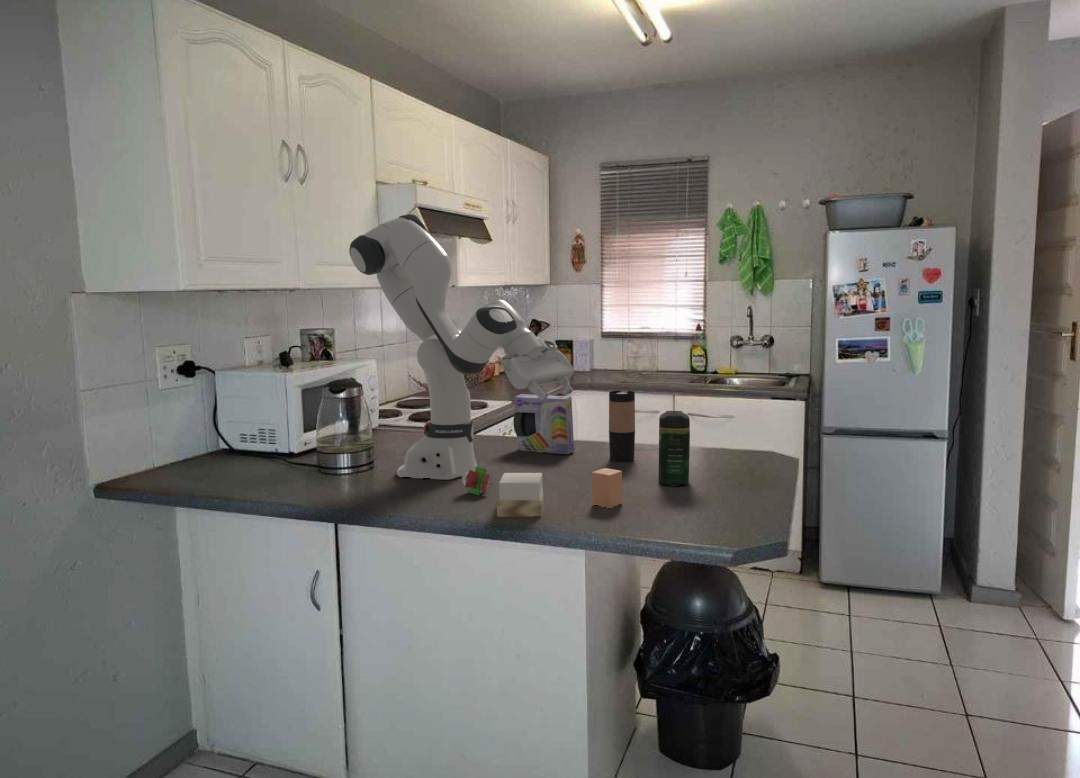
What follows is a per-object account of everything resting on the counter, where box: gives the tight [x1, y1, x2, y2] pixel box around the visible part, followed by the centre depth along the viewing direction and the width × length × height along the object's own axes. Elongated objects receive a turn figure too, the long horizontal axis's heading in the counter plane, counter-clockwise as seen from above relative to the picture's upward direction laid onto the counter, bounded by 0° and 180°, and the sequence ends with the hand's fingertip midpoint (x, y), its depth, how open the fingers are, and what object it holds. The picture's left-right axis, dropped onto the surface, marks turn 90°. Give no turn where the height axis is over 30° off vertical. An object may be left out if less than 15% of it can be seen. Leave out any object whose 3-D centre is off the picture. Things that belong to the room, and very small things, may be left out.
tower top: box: [498, 472, 543, 500], centre depth 175 cm, size 9×9×4 cm
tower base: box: [496, 488, 545, 518], centre depth 176 cm, size 10×10×4 cm
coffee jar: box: [658, 410, 691, 487], centre depth 197 cm, size 10×8×19 cm
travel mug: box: [608, 390, 636, 462], centre depth 223 cm, size 8×8×20 cm
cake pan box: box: [512, 393, 575, 455], centre depth 235 cm, size 19×5×18 cm, turn 61°
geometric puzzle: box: [461, 466, 493, 497], centre depth 190 cm, size 7×7×8 cm
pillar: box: [591, 467, 623, 509], centre depth 178 cm, size 5×5×8 cm
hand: (557, 395), depth 185 cm, fingers open, 8 cm apart
